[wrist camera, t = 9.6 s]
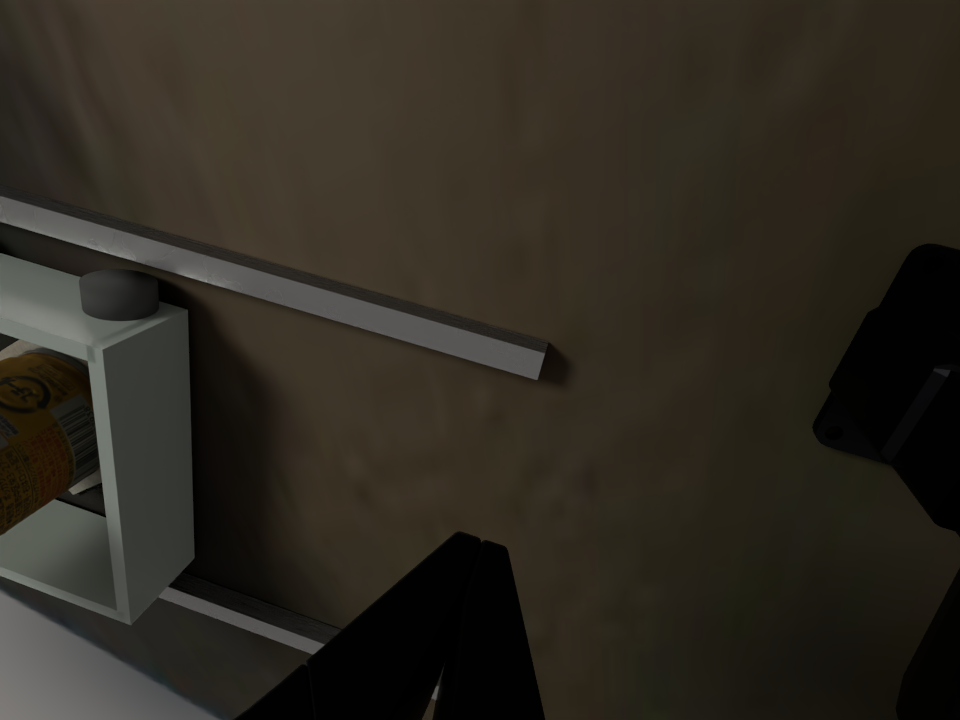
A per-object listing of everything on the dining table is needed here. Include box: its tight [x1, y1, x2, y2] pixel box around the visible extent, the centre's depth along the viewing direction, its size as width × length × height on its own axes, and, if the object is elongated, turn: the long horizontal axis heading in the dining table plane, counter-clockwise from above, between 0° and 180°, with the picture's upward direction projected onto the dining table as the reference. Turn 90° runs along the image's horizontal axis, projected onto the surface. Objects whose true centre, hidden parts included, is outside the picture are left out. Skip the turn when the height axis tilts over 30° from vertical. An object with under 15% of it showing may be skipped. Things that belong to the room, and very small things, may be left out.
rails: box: [0, 185, 549, 700], centre depth 24 cm, size 28×19×1 cm, turn 78°
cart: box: [0, 253, 195, 625], centre depth 24 cm, size 12×15×4 cm
